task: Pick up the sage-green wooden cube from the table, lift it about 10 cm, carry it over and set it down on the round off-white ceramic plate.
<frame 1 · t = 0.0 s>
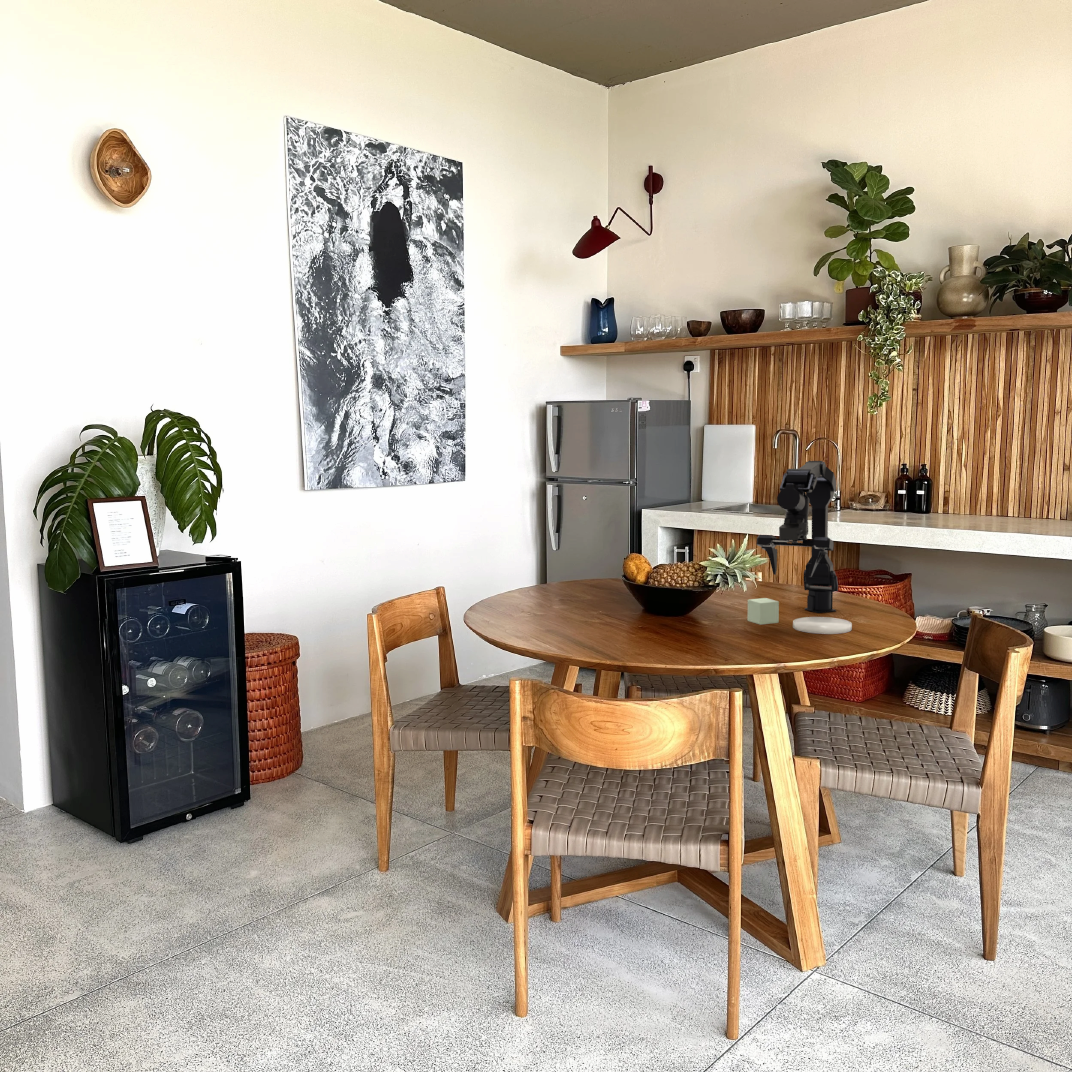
hand: (792, 575, 251), 15 cm above the table, fingers open, 9 cm apart
plate: (822, 627, 259), on the table
sage cube: (762, 621, 269), on the table
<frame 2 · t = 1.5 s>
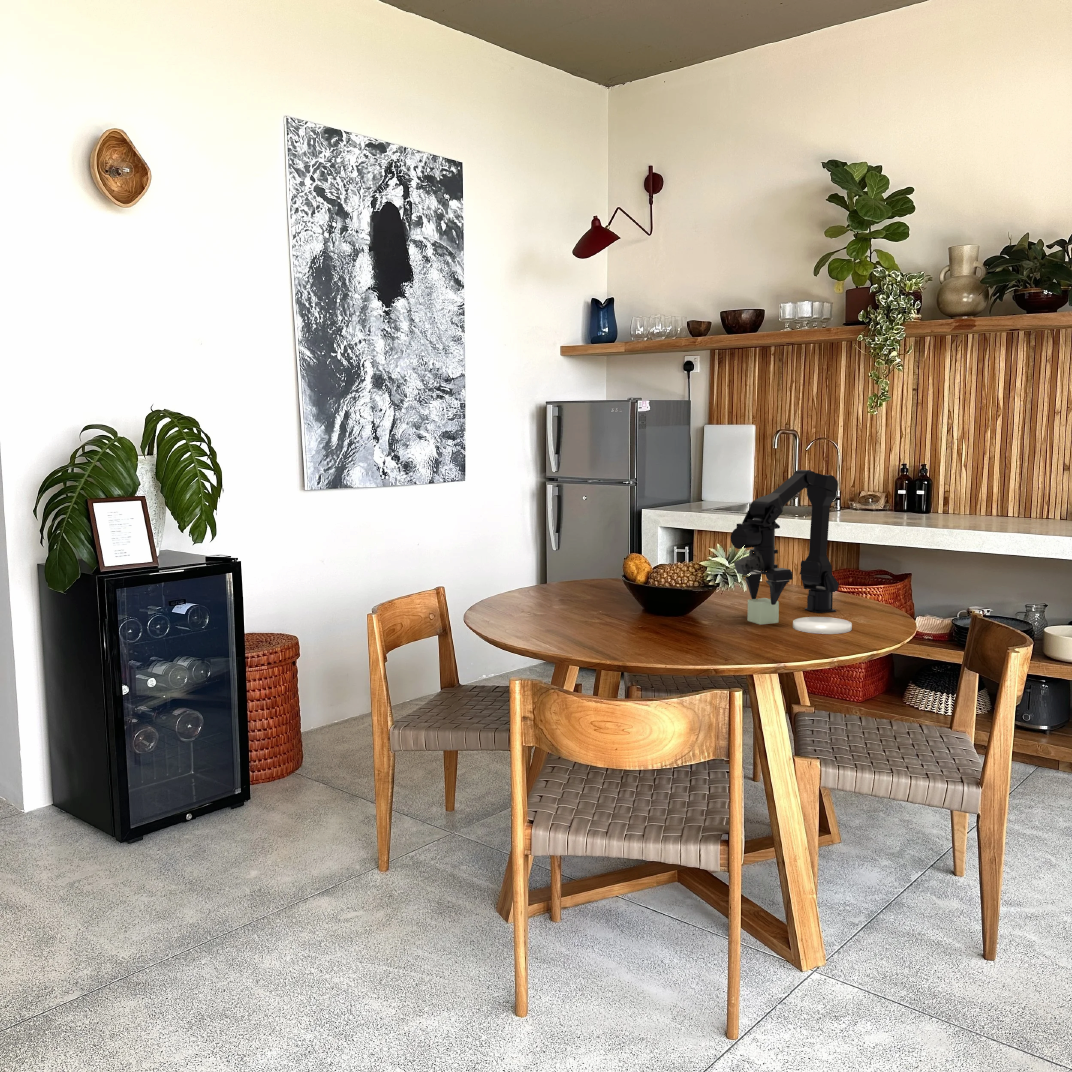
hand: (763, 601, 268), 5 cm above the table, fingers open, 9 cm apart
nothing on the table moved.
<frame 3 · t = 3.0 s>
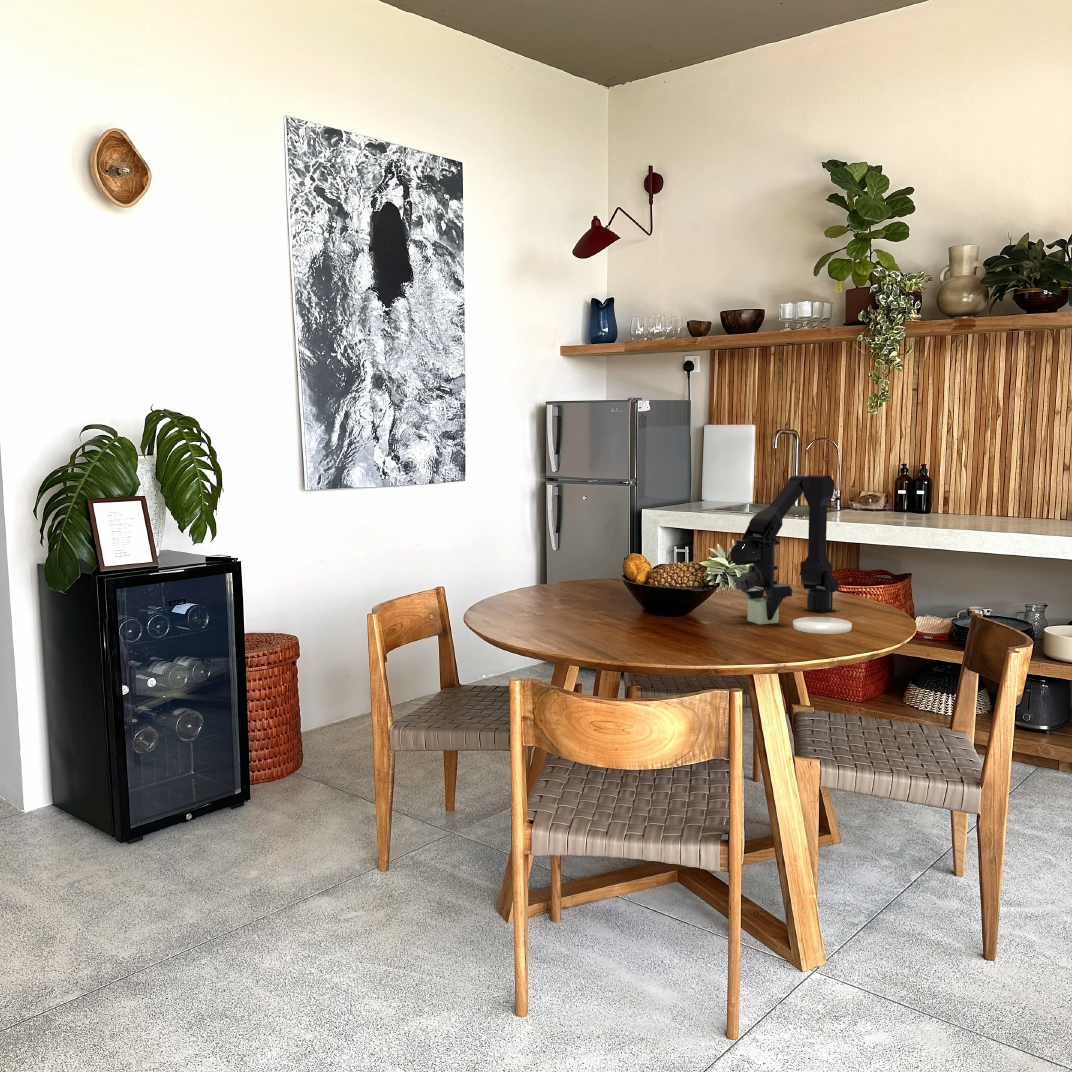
hand: (762, 617, 269), 1 cm above the table, fingers closed on sage cube, 6 cm apart
sage cube: (762, 621, 269), on the table, touching gripper
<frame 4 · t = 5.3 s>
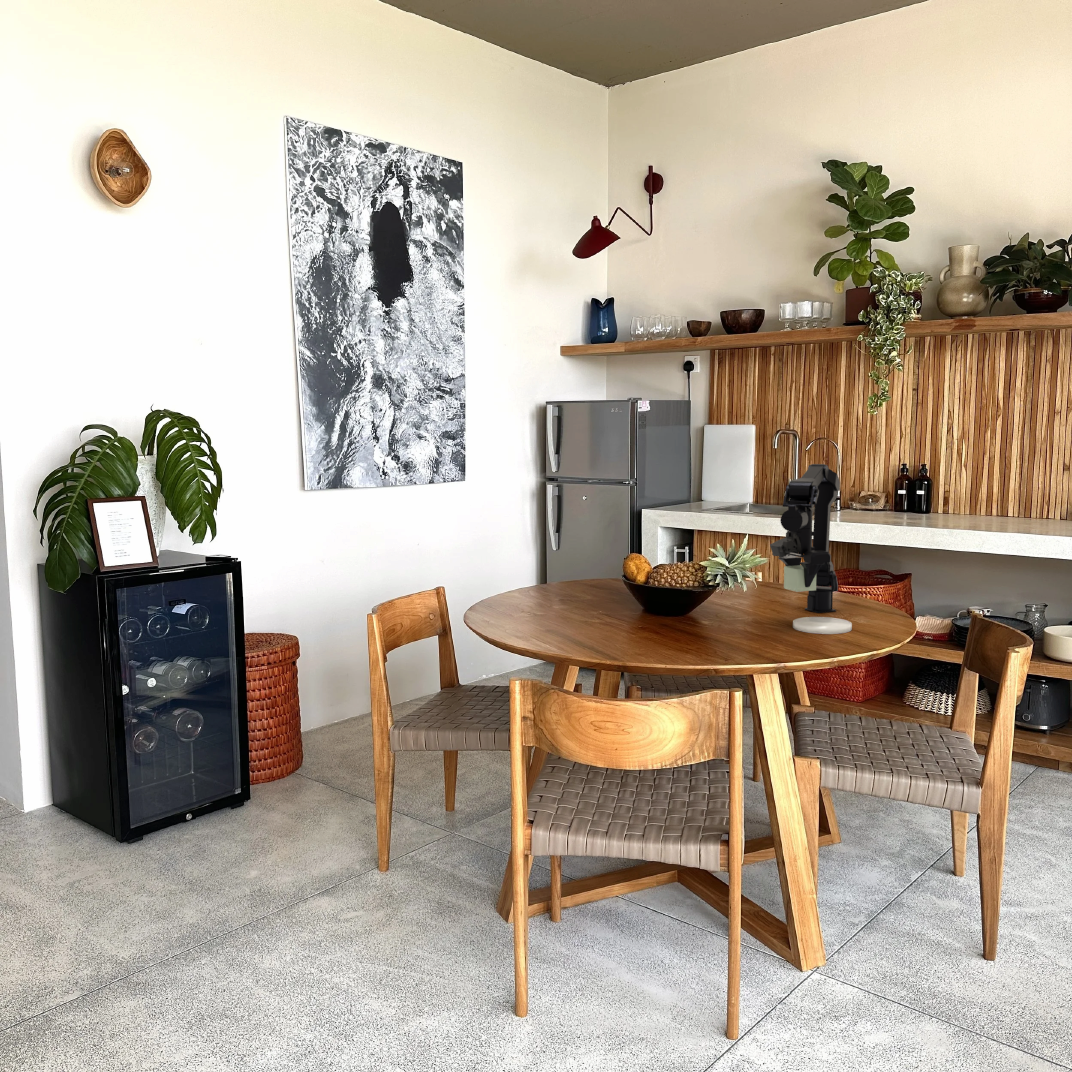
hand: (800, 585, 261), 11 cm above the table, fingers closed on sage cube, 6 cm apart
sage cube: (799, 589, 261), point 10 cm above the table, touching gripper
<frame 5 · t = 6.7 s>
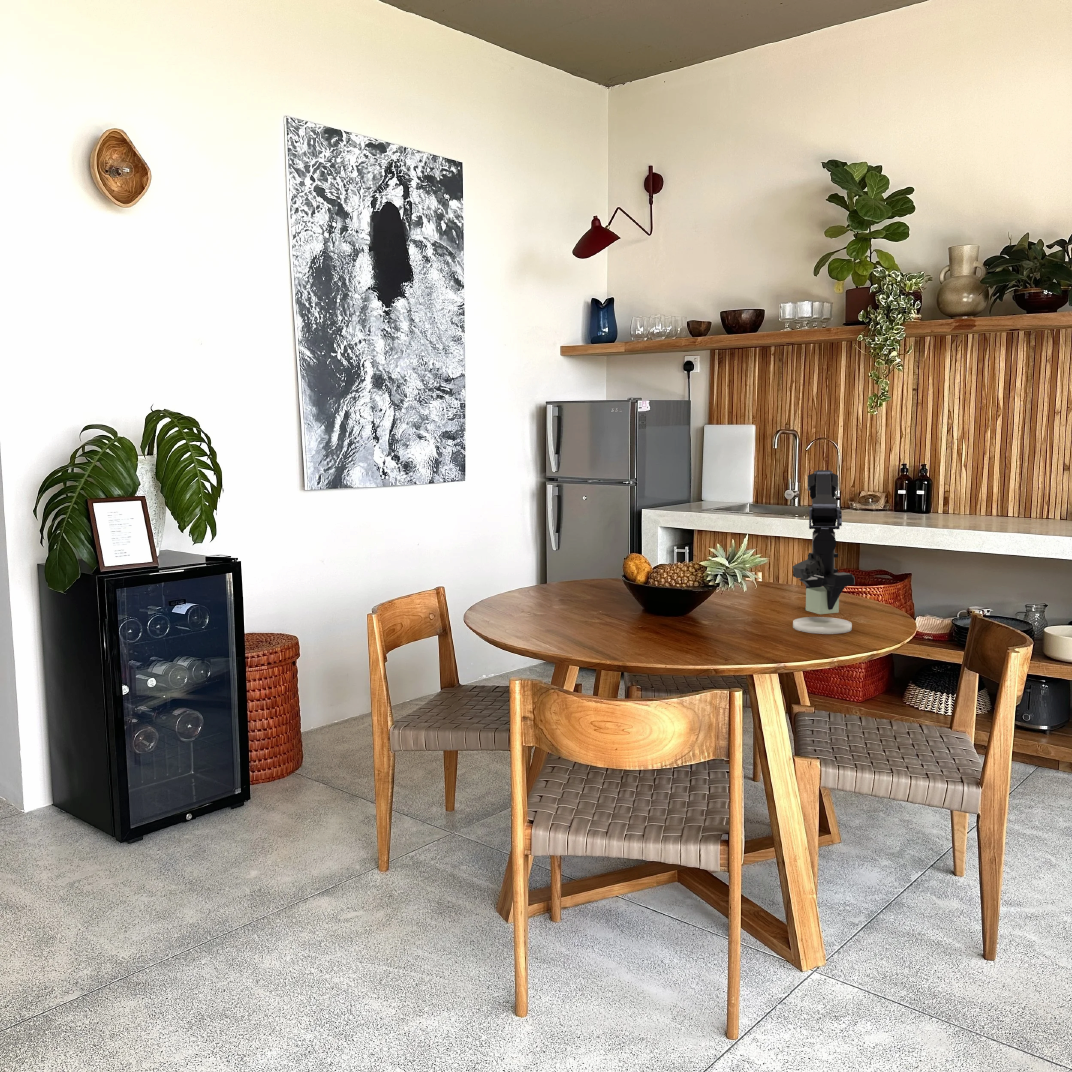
hand: (822, 607, 259), 6 cm above the table, fingers closed on sage cube, 6 cm apart
sage cube: (822, 611, 259), point 4 cm above the table, touching gripper
when the fingers open (4 cm above the table, at t = 7.9 s): sage cube drops 1 cm, resting on plate.
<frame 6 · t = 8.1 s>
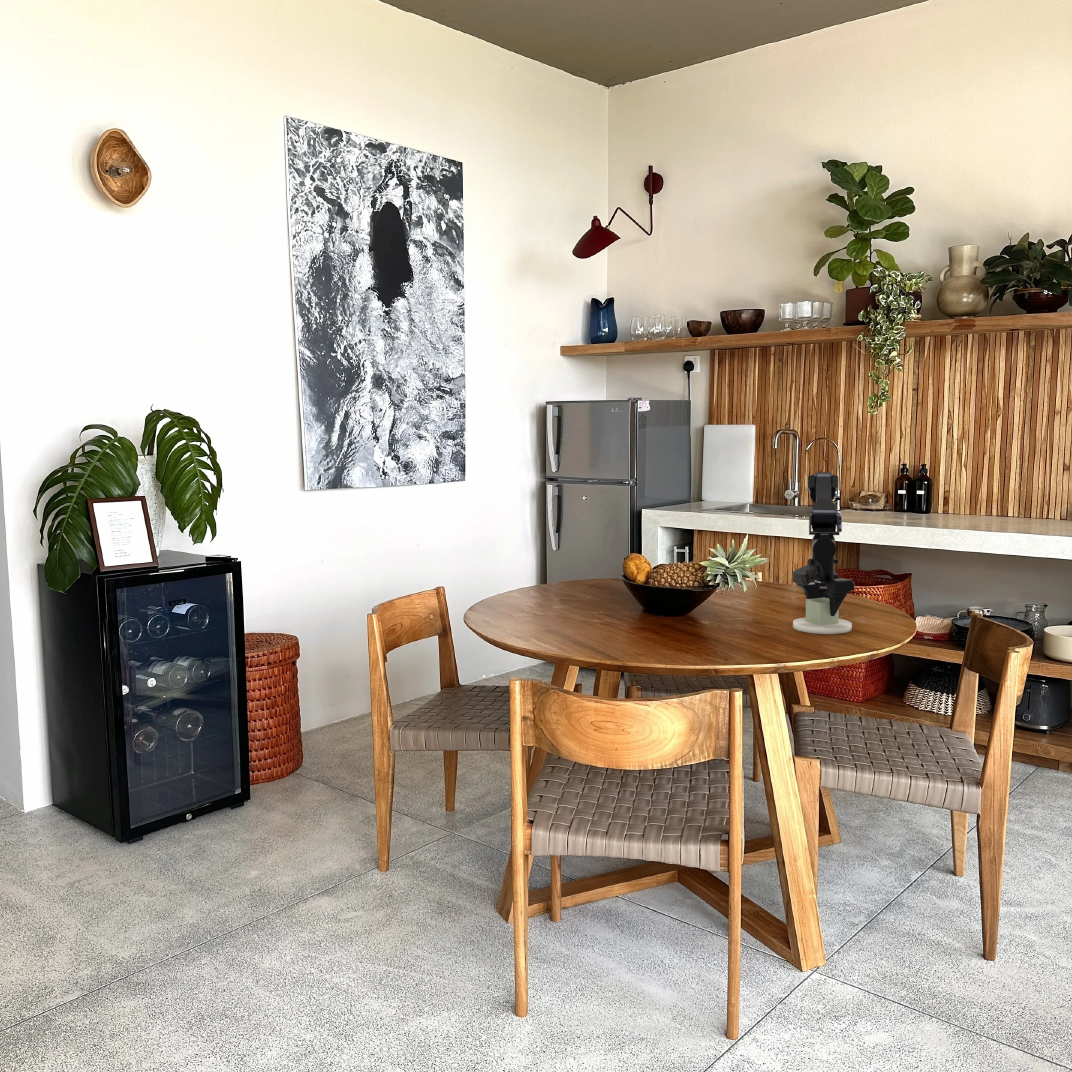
hand: (822, 613, 259), 4 cm above the table, fingers open, 8 cm apart
sage cube: (821, 622, 259), point 1 cm above the table, touching plate
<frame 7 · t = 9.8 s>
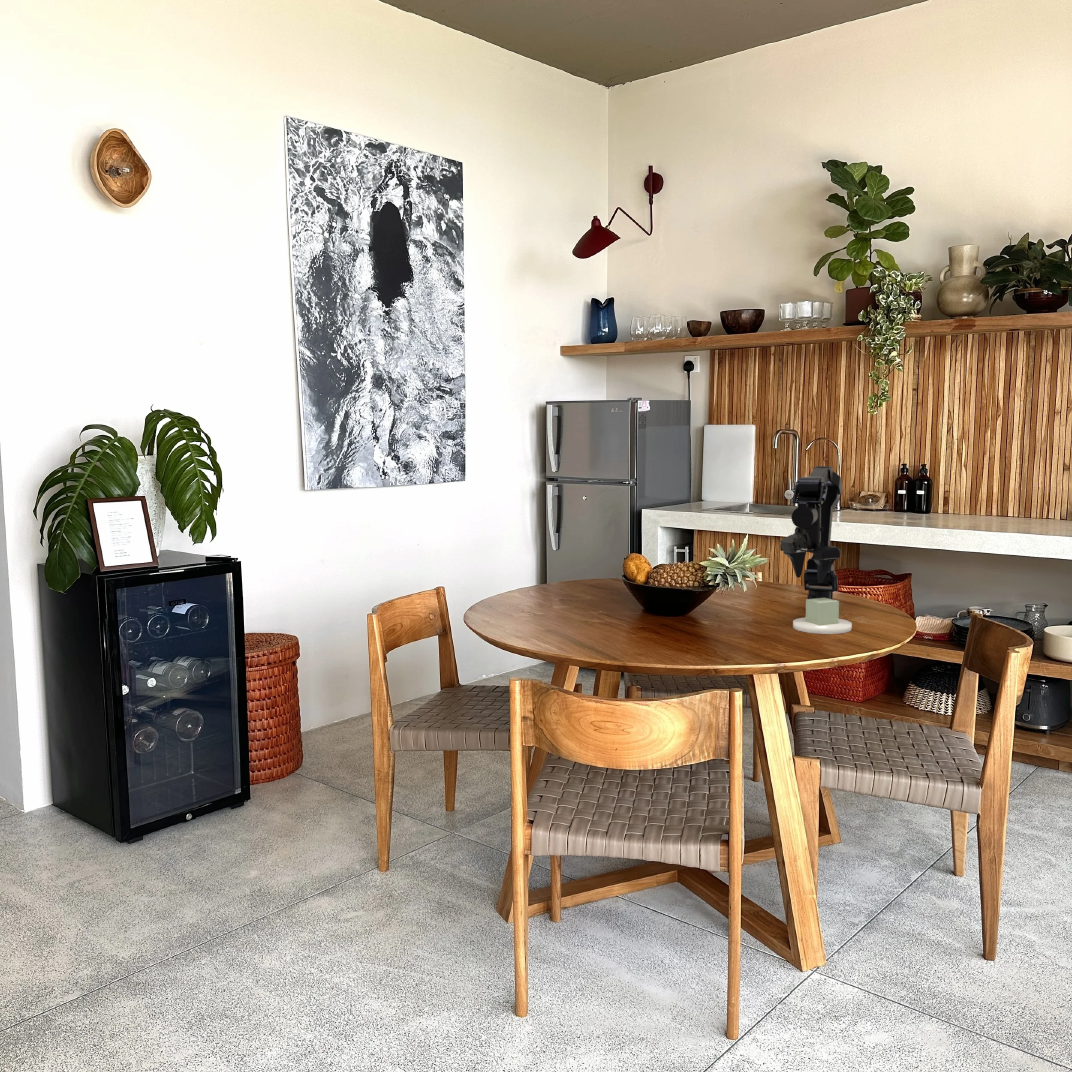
hand: (809, 580, 266), 12 cm above the table, fingers open, 9 cm apart
nothing on the table moved.
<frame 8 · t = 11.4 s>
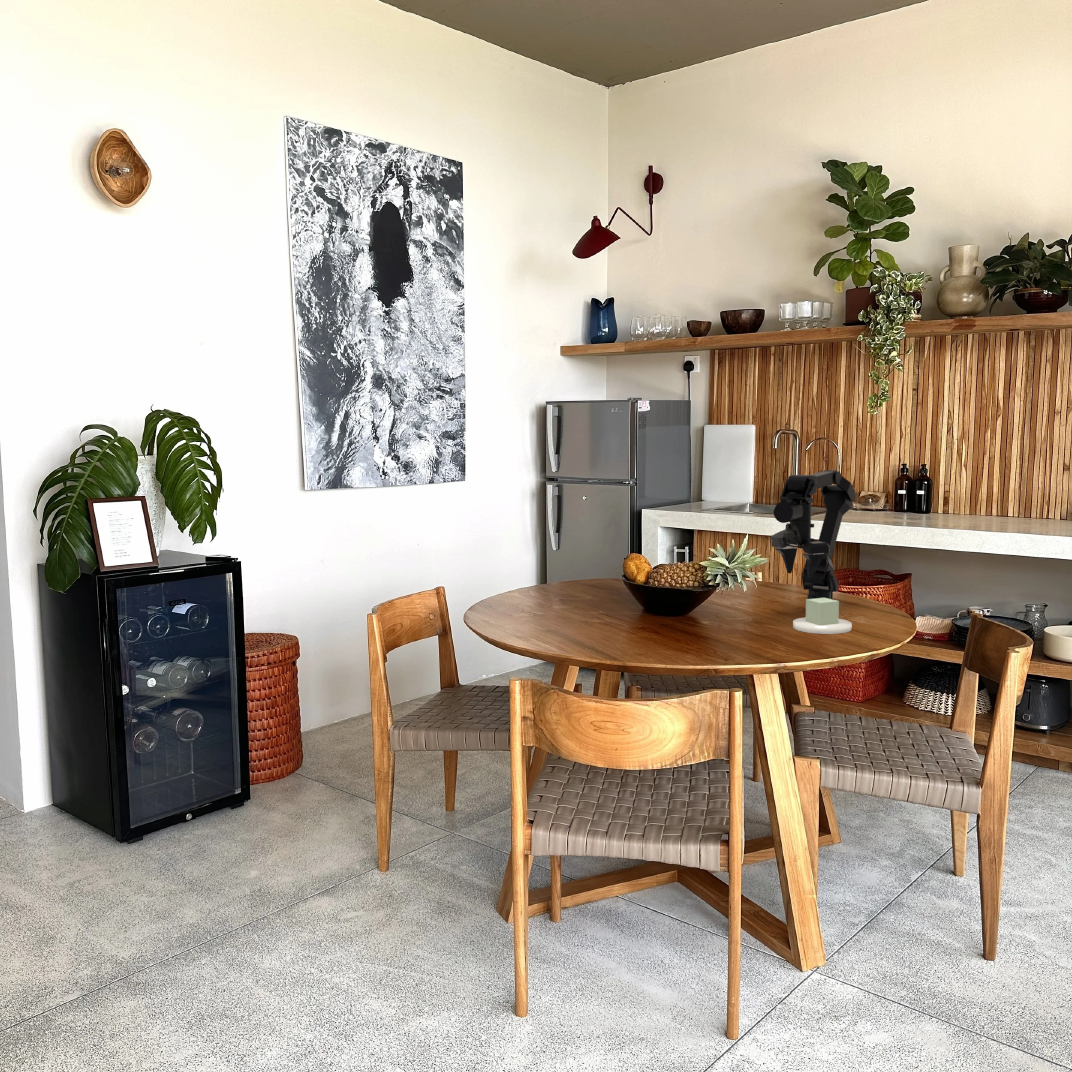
hand: (799, 575, 272), 12 cm above the table, fingers open, 9 cm apart
nothing on the table moved.
at the end: sage cube inside the target area on the plate (0.1 cm from its centre), point 1.5 cm above the plate's base; sage cube tilted 0°; the gripper is holding nothing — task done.
